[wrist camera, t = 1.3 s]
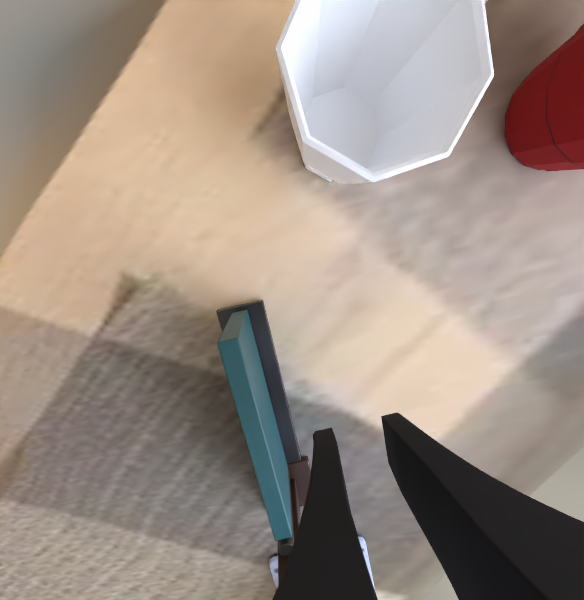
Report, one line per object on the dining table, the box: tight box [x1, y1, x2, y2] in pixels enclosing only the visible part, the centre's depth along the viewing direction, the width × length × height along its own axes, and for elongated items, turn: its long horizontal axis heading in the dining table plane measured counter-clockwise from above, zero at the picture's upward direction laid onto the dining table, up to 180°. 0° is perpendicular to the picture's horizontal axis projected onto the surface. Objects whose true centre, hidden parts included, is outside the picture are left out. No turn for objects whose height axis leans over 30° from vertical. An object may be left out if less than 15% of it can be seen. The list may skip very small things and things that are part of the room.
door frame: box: [217, 300, 311, 585], centre depth 16 cm, size 16×4×10 cm, turn 12°
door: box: [217, 310, 292, 541], centre depth 17 cm, size 12×1×5 cm, turn 12°
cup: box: [276, 0, 494, 184], centre depth 13 cm, size 7×10×8 cm
